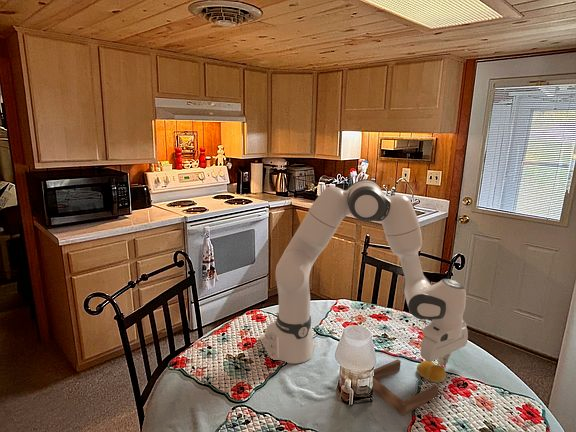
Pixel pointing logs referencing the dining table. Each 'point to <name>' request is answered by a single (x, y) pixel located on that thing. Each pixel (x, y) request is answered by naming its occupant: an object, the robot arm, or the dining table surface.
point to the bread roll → (431, 371)
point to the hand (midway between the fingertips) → (442, 363)
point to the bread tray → (391, 398)
